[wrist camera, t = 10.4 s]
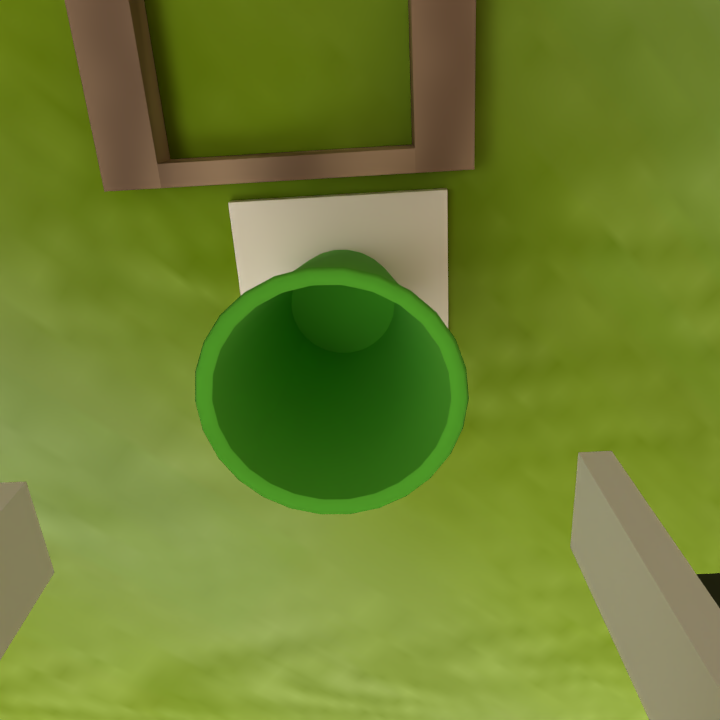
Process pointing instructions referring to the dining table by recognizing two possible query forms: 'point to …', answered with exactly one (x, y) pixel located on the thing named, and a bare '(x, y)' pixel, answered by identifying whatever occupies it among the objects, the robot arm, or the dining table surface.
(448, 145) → the board
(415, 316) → the cup
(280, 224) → the coaster
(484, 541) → the dining table surface
